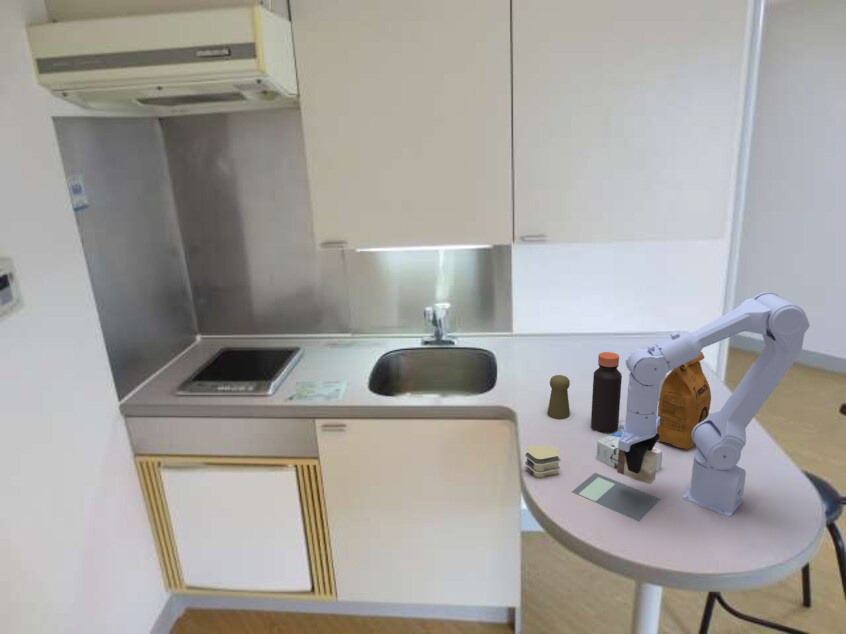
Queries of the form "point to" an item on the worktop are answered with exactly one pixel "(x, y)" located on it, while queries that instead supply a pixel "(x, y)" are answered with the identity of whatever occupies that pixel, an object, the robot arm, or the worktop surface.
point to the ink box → (617, 451)
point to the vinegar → (606, 394)
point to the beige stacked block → (542, 460)
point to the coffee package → (683, 403)
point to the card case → (646, 470)
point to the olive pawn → (559, 397)
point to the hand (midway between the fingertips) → (637, 468)
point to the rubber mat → (616, 496)
